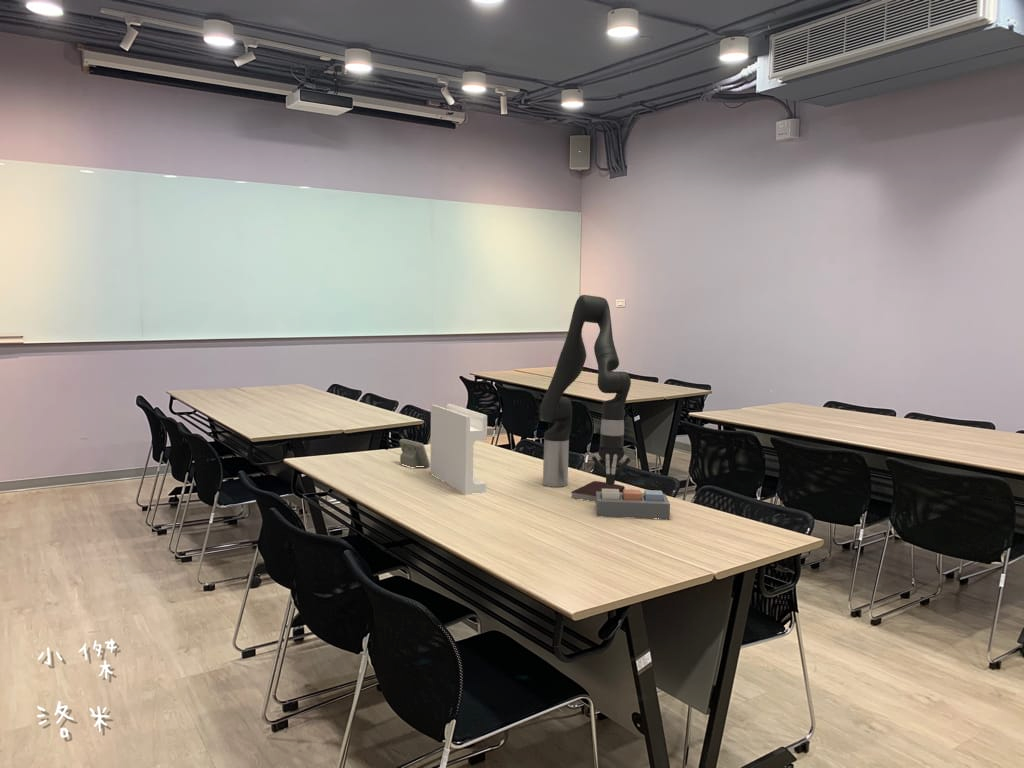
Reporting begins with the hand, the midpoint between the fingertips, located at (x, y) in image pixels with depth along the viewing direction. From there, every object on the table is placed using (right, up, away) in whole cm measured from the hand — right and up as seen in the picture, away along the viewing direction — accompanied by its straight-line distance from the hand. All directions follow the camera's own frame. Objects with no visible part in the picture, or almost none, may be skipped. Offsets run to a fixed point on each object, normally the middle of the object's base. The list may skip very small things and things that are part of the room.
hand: (610, 484), depth 240 cm
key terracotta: (+7, -7, 0) cm, 10 cm away
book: (-1, -8, +22) cm, 23 cm away
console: (+7, -9, 0) cm, 12 cm away
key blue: (+14, -7, -1) cm, 16 cm away
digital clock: (-73, -1, +66) cm, 98 cm away
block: (-53, -5, +37) cm, 64 cm away
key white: (0, -6, +1) cm, 6 cm away
